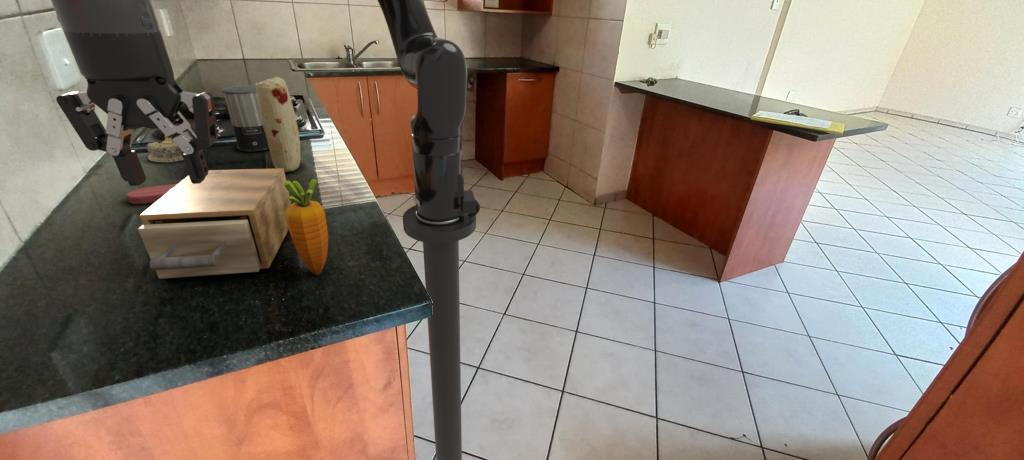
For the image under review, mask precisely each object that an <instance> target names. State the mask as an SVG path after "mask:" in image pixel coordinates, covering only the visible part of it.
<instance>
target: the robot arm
mask: <svg viewBox="0 0 1024 460" xmlns="http://www.w3.org/2000/svg"><path fill="white" fill-rule="evenodd" d="M50 2H51V4H52V7H53V9H54V12H55V14H56V19H57V21H58V22H59V24H60V26H61V29H62V31H63V34H64V36H65V39H66V40H67V43H68V47H69V48H70V50H71V53H72V55H73V58H74V60H75V63H76V65H77V68H78V70H79V72H80V74H81V75H82V76H83V77H84V78H85V80H86V82H87V87H86V90H85V91H78V90H74V91H70V92H67V93H63V94H61V95H57V97H55V98H56V99H55V101H56V103H57V104H58V106H59V108H60V109H61V111H62V112H63V113H64V115H65V117H66V118H67V120H68V122H69V123H70V125H71V126H72V128H73V129H74V131H75V132H76V134H77V136H78V137H79V139H80V141H81V142H82V143H83V145H84V146H85V148H86V149H87V150H89V151H91V152H95V151H101V152H105V153H107V154H108V155H110V156H112V158H113V160H114V163H115V166H116V167H117V170H118V172H119V175H120V178H121V179H122V180H123V181H124V182H127V183H128V185H129V186H131V187H139V186H140V185H142V184H144V183H145V182H146V180H147V177H146V174H145V172H144V169H143V165H142V163H141V161H140V158H139V156H138V153H137V151H136V150H135V149H131V148H132V146H133V139H134V133H135V132H136V131H137V129H141V128H146V129H147V128H148V129H151V130H155V129H156V130H157V129H158V130H160V131H161V133H162V134H163V135H164V136H165V135H166V137H168V138H171V139H172V140H173V141H174V142H175V143H176V144H177V145H178V146H179V148H180V149H181V150H182V151H183V152H184V154H183V155H182V156H183V159H184V160H183V161H184V165H185V168H186V171H187V174H188V175H189V177H190V180H191V182H192V183H193V184H198V183H201V182H202V181H203V180H204V179H205V177H206V176H207V175H208V171H209V170H210V169H209V167H208V164H207V160H206V157H205V155H204V149H208V148H209V147H211V146H212V145H214V144H215V143H217V142H218V139H219V138H218V128H217V119H216V111H215V100H214V99H215V98H214V96H213V94H212V93H210V92H209V91H203V92H201V93H198V92H192V91H184V90H183V89H182V87H181V86H180V85H179V84H178V82H177V81H176V79H175V74H174V69H173V66H172V63H171V59H170V56H169V53H168V51H167V50H168V49H167V47H166V44H165V40H164V37H163V34H162V30H161V28H160V25H159V22H158V19H157V15H156V12H155V9H154V6H153V3H152V0H50ZM377 3H378V5H379V7H380V10H381V12H382V14H383V17H384V20H385V23H386V26H387V29H388V33H389V35H390V39H391V42H392V46H393V49H394V52H395V56H396V59H397V61H398V66H399V68H400V69H399V70H400V72H401V73H402V75H403V77H404V79H405V81H406V82H407V83H409V85H411V87H413V88H414V89H416V90H417V91H416V93H417V110H416V113H415V114H413V115H412V116H411V117H410V133H411V134H410V136H411V153H412V167H413V168H412V169H413V181H414V195H412V201H413V202H414V203H415V205H416V218H417V220H418V221H419V222H421V223H423V224H425V225H429V226H448V225H452V224H455V223H457V222H462V221H464V213H470V214H468V217H469V218H472V217H473V216H475V215H476V216H477V215H478V214H479V212H480V210H481V204H480V203H479V201H478V200H476V198H475V193H474V191H473V190H472V189H468V190H467V189H466V190H465V177H464V173H463V124H464V121H465V118H466V115H467V104H468V103H467V102H468V101H467V99H468V66H467V60H466V57H465V55H464V52H463V50H462V49H461V48H460V47H459V45H458V44H457V43H455V42H454V41H451V40H449V39H445V38H442V37H438V35H437V33H436V31H435V28H434V26H433V23H432V21H431V18H430V16H429V13H428V11H427V7H426V4H425V0H377ZM183 103H184V104H185V105H186V106H187V109H188V111H189V112H191V113H192V114H193V119H194V128H195V132H194V130H193V129H192V128H191V123H189V121H188V120H187V118H185V116H184V115H183V114H182V113H181V112H180V109H181V107H182V105H183ZM96 107H98V108H99V109H100V110H102V111H103V112H104V113H105V114H107V118H106V119H107V120H106V126H104V125H103V123H102V121H101V120H100V118H99V116H98V114H97V113H96V111H95V110H96ZM105 127H106V128H105Z"/></svg>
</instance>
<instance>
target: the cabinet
mask: <svg viewBox="0 0 1024 460" xmlns="http://www.w3.org/2000/svg"><path fill="white" fill-rule="evenodd" d="M208 170H209V171H208V175H207V176H206V177H205V179H204V180H203V181H202V182H201V183H198V184H193V183H192V182H191V180H190V177H189V174H188V175H187V176H186V177H184V178H183V179H181V180H180V181H179V182H177V183H176V184H177V185H176V186H175V187H173V188H172V189H171V190H170V191H168V192H167V193H166V194H165V195H164V196H162V197H161V198H160V199H159V200H157V201H156V202H155V203H151V205H150V206H149V207H148V208H146V209H145V210H144V211H142V213H140V214H139V218H140V220H141V223H142V225H147V224H156V223H155V220H158V219H179V218H201V217H222V216H243V215H249V219H250V222H251V226H252V230H253V233H254V237H255V241H256V244H257V248H258V251H259V255H260V258H259V262H260V266H261V268H260V270H261V269H263V270H264V269H269V268H270V267H271V265H272V263H273V261H274V259H275V257H276V255H277V253H278V252H279V249H280V247H281V246H282V243H284V239H285V237H286V236H287V234H288V232H289V228H288V224H287V221H286V217H285V210H286V208H287V207H289V206H290V205H292V204H293V203H292V201H291V200H289V199H288V197H290V196H291V194H290V192H289V191H288V190H287V189H286V187H285V186H284V183H285V182H286V181H287V177H286V172H284V168H276V169H275V168H245V169H244V168H243V169H242V168H241V169H239V168H238V169H208Z"/></svg>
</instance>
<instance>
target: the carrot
mask: <svg viewBox="0 0 1024 460" xmlns="http://www.w3.org/2000/svg"><path fill="white" fill-rule="evenodd" d="M318 183H319V180H317V179H314V178H312V179H311V181H310V182H309V184H308V187H307V190H306V192H305V190H304V188H303V186H302V185H301V184H300V182H298V181H297V180H293V181H292V182H291V180H286V182H285V183H284V186H285V187H286V189H287V190H288V191H289V194H290V197H288V199H289V200H291V204H292V205H290V206H289V207H287V208H286V210H285V217H286V221H287V224H288V228H289V230H288V232H289V235H290V238H291V241H292V243H293V245H294V248H295V250H296V251H297V253H298V255H299V258H300V259H301V261H302V263H303V264H304V266H306V268H307V269H308V270H309V271H310V272H311V273H312V274H313V275H316V276H319V275H320V274H321V273H322V272H323V269H324V267H325V265H326V261H327V257H328V249H329V232H328V231H329V230H328V224H327V217H326V211H325V209H324V207H323V206H322V204H320V202H318V201H316V200H311V199H312V197H313V193H314V191H315V189H316V186H317V184H318ZM292 202H293V203H292Z"/></svg>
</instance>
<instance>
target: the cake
mask: <svg viewBox="0 0 1024 460" xmlns="http://www.w3.org/2000/svg"><path fill="white" fill-rule="evenodd" d="M146 149H147V152H148V153H149V154H148V156H147V159H148V161H151V162H155V163H175V162H181V161H184V159H183V156H182V155H183V154H184V152H183V151H182V150H181V149H180V148H179V146H178V145H177V144H176V143H175V142H174V141H173V140H172V139H171V138H168V137H167V136H166V135H165V134H164V140H163V141H162V142H161V141H156V142H155V141H154V142H149V143H147V145H146Z"/></svg>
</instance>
